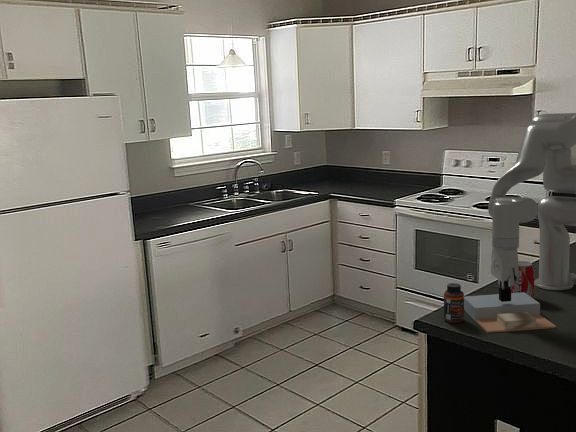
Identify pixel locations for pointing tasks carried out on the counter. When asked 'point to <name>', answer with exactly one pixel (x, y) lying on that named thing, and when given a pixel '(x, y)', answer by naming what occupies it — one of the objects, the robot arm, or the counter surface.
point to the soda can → (524, 279)
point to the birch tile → (516, 320)
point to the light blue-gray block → (499, 305)
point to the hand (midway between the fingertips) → (504, 300)
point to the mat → (493, 326)
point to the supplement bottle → (453, 303)
